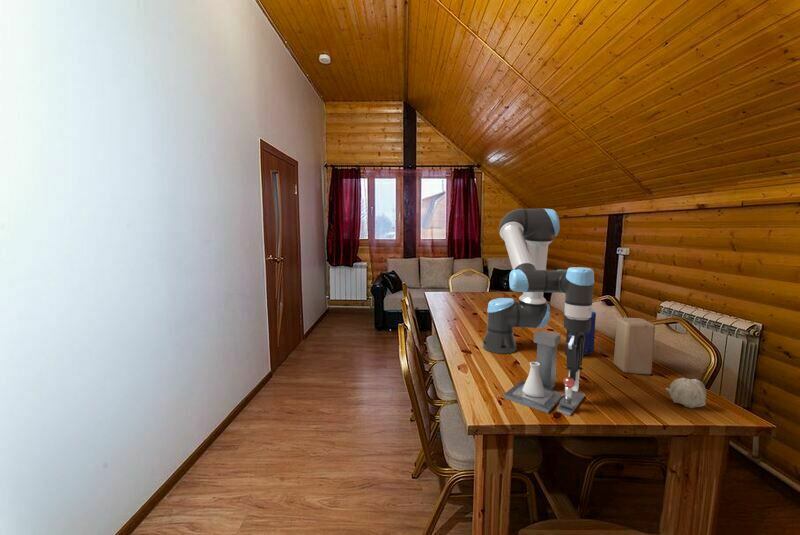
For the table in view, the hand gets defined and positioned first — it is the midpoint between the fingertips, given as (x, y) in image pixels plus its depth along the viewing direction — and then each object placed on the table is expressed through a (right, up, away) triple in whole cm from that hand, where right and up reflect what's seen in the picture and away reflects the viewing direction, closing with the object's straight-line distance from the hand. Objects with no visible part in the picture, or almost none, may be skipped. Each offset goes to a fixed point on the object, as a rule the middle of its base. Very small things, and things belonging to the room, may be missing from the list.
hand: (573, 389), depth 107 cm
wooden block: (+37, -2, +27) cm, 46 cm away
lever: (-4, -3, -4) cm, 6 cm away
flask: (-11, -3, +3) cm, 12 cm away
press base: (-7, -4, +4) cm, 9 cm away
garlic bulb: (+35, -5, -1) cm, 35 cm away
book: (+24, 0, +42) cm, 49 cm away
